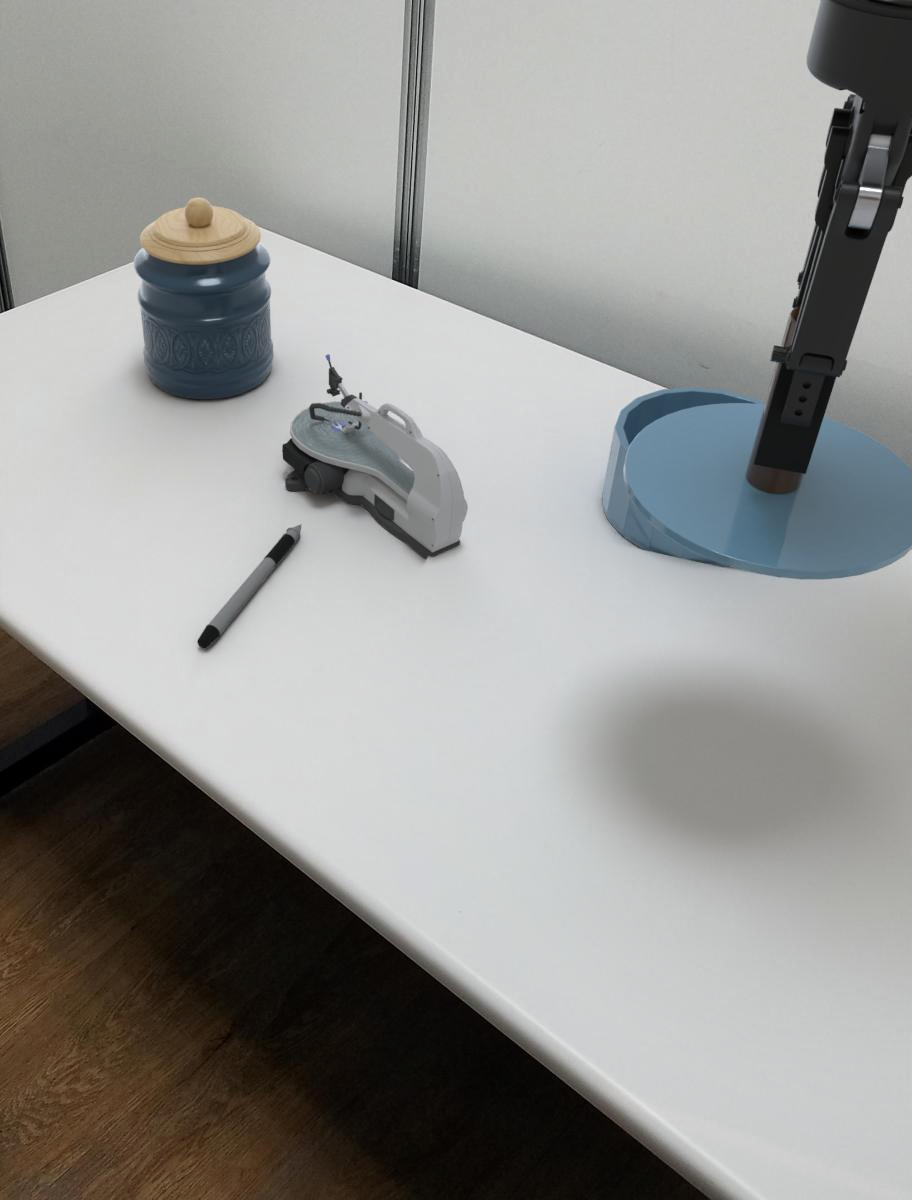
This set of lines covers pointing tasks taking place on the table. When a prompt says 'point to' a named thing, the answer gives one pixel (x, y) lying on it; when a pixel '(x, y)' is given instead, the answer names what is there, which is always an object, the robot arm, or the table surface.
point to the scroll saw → (378, 468)
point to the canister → (204, 302)
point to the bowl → (626, 429)
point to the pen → (248, 588)
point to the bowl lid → (771, 493)
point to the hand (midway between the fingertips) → (782, 446)
